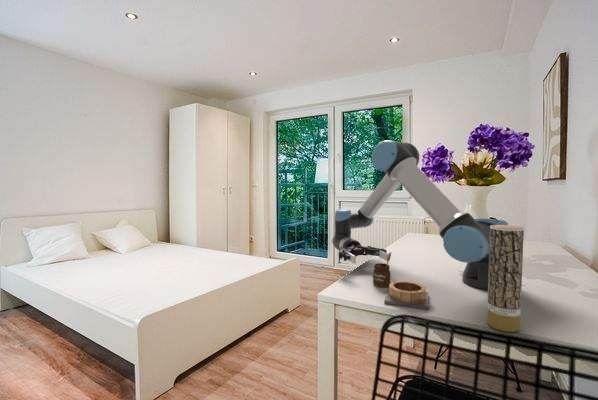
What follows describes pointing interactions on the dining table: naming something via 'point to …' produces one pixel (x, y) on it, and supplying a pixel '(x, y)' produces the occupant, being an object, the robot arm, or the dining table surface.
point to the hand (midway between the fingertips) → (371, 258)
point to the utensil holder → (381, 273)
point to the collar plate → (407, 295)
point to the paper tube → (505, 277)
